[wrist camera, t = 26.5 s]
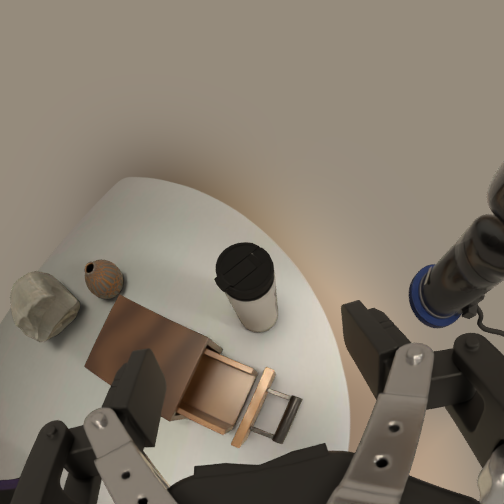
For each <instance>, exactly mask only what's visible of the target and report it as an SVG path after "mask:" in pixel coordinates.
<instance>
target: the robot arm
mask: <svg viewBox="0 0 504 504" xmlns="http://www.w3.org/2000/svg"><path fill="white" fill-rule="evenodd" d="M487 203H488V205H489V207H490V209H491V211H492V212H493V213H494V215H489V214H486V215H482V216H480V217H478V218H477V219H476V220H475V221H474V222H473V223H472V224H471V225H470V227H469V228H468V229H467V230H466V231H465V232H464V233H463V235H462V236H461V237H460V238H459V239H458V240H457V242H456V243H455V244H454V245H453V246H452V247H451V248H450V250H449V251H448V252H447V253H446V254H445V255H444V256H443V257H442V258H441V259H440V261H438V263H437V264H436V265H435V266H434V267H433V268H432V266H431V267H430V268H429V271H428V272H427V273H426V274H425V275H424V276H423V278H422V279H421V281H420V284H419V289H418V294H419V299H420V302H421V305H422V306H423V308H424V309H425V311H426V312H427V313H428V314H430V315H431V316H433V317H435V318H438V319H446V318H449V317H451V316H452V315H454V316H458V315H459V314H461V313H462V317H465V318H468V319H470V318H472V317H474V316H476V313H478V315H479V319H478V322H477V325H478V326H479V328H480V329H482V330H483V331H485V332H488V333H492V334H497V335H501V336H504V331H502V330H498V329H492V328H488V327H486V326H484V325H483V324H482V320H483V312H482V310H481V309H480V308H479V306H478V303H479V302H480V301H482V300H483V299H484V294H485V293H487V292H488V291H490V290H491V289H492V288H494V287H495V286H496V285H498V284H499V283H501V282H502V281H503V280H504V161H503V163H502V164H501V166H500V167H499V168H498V170H497V172H496V173H495V175H494V177H493V179H492V181H491V183H490V185H489V188H488V192H487ZM431 268H432V269H431ZM341 313H342V324H343V334H344V335H343V336H344V341H345V345H346V347H347V350H348V351H349V353H350V355H351V357H352V358H353V360H354V362H355V364H356V365H357V367H358V369H359V370H360V372H361V374H362V375H363V377H364V379H365V381H366V382H367V384H368V386H369V387H370V389H371V391H372V393H373V395H374V396H375V398H376V400H377V401H376V403H375V406H374V409H373V411H372V414H371V416H370V419H369V421H368V424H367V426H366V429H365V431H364V434H363V436H362V438H361V441H360V443H359V446H358V448H357V450H356V452H355V453H352V452H347V451H328V450H327V447H326V444H325V443H323V444H319V445H316V446H312V447H308V448H304V449H300V450H296V451H292V452H290V453H287V454H285V455H283V456H281V457H278V458H276V459H273V460H271V461H268V462H266V463H263V464H260V465H247V464H231V463H222V464H213V465H203V466H194V475H192V476H189V477H187V478H184V479H182V480H180V481H178V482H177V483H175V484H173V485H172V486H170V485H169V484H168V483H167V481H166V480H165V479H164V478H163V476H162V475H161V474H160V473H159V471H158V470H157V469H156V467H155V466H154V465H153V463H152V462H151V461H150V459H149V458H148V456H147V455H146V454H145V453H144V451H143V449H144V447H155V443H156V437H157V432H158V427H159V422H160V417H161V413H162V408H163V403H164V398H165V394H166V388H167V386H166V380H165V377H164V374H163V372H162V370H161V368H160V366H159V364H158V362H157V360H156V358H155V356H154V353H153V352H152V350H151V349H149V348H148V349H141V350H135V351H133V352H132V353H131V355H130V358H129V360H128V362H127V363H124V364H123V366H122V367H121V368H120V369H119V370H118V371H117V373H116V375H115V377H114V381H113V382H112V384H111V388H110V389H109V391H108V393H107V396H106V398H105V400H104V403H103V405H102V408H99V409H96V410H94V411H92V412H91V413H90V414H89V415H88V416H87V417H86V418H85V420H84V424H83V425H82V426H78V427H74V428H70V429H68V428H67V426H66V425H65V424H64V423H63V422H62V421H58V420H56V421H52V422H49V423H47V424H46V425H45V426H44V427H43V428H42V429H41V430H40V432H39V434H38V436H37V439H36V441H35V443H34V445H33V448H32V450H31V452H30V454H29V457H28V459H27V461H26V464H25V466H24V469H23V471H22V474H21V476H20V479H19V481H18V484H17V487H16V489H15V492H14V495H13V498H12V500H11V503H10V504H97V500H98V495H99V490H100V485H101V480H103V482H104V484H105V486H106V488H107V490H108V492H109V494H110V496H111V497H112V499H113V501H114V503H115V504H504V355H503V354H502V353H501V352H500V351H498V349H497V348H495V347H494V346H493V345H492V344H491V343H490V342H489V341H488V340H487V339H486V338H485V337H483V336H482V335H480V334H476V333H466V334H463V335H460V336H459V337H458V338H457V339H456V340H455V342H454V346H453V349H447V350H442V351H434V352H433V351H432V349H431V348H430V347H428V346H427V345H424V344H421V343H411V342H410V341H409V340H408V339H407V338H406V336H405V335H404V334H403V333H402V332H401V331H400V330H399V329H398V328H397V327H396V326H395V325H394V323H393V322H392V321H391V320H390V319H389V318H388V317H387V316H386V315H385V313H383V312H382V311H379V310H377V309H375V308H371V309H367V308H366V307H365V306H364V305H363V304H362V303H361V302H360V300H357V301H354V302H351V303H347V304H343V305H342V306H341ZM444 406H445V408H446V410H447V411H448V413H449V414H450V416H451V417H452V419H453V420H454V422H455V423H456V425H457V426H458V428H459V430H460V432H461V433H462V435H463V436H464V438H465V440H466V441H467V443H468V445H469V446H470V448H471V449H472V451H473V453H474V455H475V456H476V458H477V460H478V461H479V463H480V465H481V466H482V470H481V472H480V474H479V476H478V480H477V484H478V488H479V492H480V498H479V501H477V500H476V499H474V498H472V497H469V496H466V495H462V494H459V493H456V492H453V491H450V490H447V489H444V488H441V487H439V486H436V485H433V484H430V483H428V482H425V481H422V480H420V479H417V478H415V477H412V476H410V475H409V473H410V470H411V466H412V463H413V460H414V456H415V453H416V449H417V445H418V442H419V438H420V434H421V430H422V425H423V421H424V416H425V412H426V410H427V409H433V408H439V407H444ZM63 468H65V469H66V470H67V471H68V472H69V473H68V477H67V480H66V483H65V487H64V490H62V488H61V486H60V478H61V474H62V471H63Z"/></svg>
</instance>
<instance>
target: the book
mask: <svg viewBox="0 0 504 504" xmlns="http://www.w3.org/2000/svg"><path fill="white" fill-rule="evenodd" d="M19 479H20V478H17V479H11V480H0V504H10V503H11V500H12V498H13V495H14V492H15V489H16V487H17V484H18V481H19Z"/></svg>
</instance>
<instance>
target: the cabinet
mask: <svg viewBox="0 0 504 504" xmlns="http://www.w3.org/2000/svg"><path fill="white" fill-rule="evenodd" d="M148 348H149V349H151V350H152V352H153V353H154V356H155V358H156V360H157V362H158V364H159V366H160V368H161V370H162V372H163V374H164V377H165V380H166V386H167V388H166V394H165V398H164V403H163V408H162V413H161V417H163V418H165V419H166V420H168V421H174V420H180V419H186V418H187V417H185V416H183V415H181V414H179V413H177V412H176V411H177V409H178V407H179V405H180V403H181V400H182V398H183V396H184V394H185V392H186V390H187V388H188V385H189V383H190V381H191V379H192V377H193V375H194V372H195V370H196V368H197V366H198V364H199V362H200V360H201V357H202V355H203V353H204V351H205V349H206V348H207V349H209V350H211V351H213V352H216V353H218V354H221V352H222V350H223V349H222V348H221V347H220V346H218V345H217V344H216V343H215V342H213V341H212V340H211V339H210V338H208V337H206V336H204V335H202V334H199V333H197V332H195V331H193V330H190V329H188V328H186V327H184V326H182V325H180V324H178V323H175V322H173V321H171V320H169V319H167V318H165V317H163V316H161V315H159V314H157V313H155V312H153V311H151V310H149V309H147V308H145V307H143V306H141V305H139V304H137V303H135V302H133V301H131V300H129V299H127V298H125V297H124V296H122V295H119V296H118V298H117V300H116V302H115V304H114V306H113V307H112V309H111V311H110V313H109V315H108V317H107V319H106V321H105V323H104V325H103V327H102V329H101V332H100V334H99V336H98V338H97V340H96V342H95V344H94V346H93V348H92V351H91V353H90V355H89V357H88V359H87V361H86V364H85V366H84V367H86V368H87V369H88V370H90V371H91V372H92V373H94V374H95V375H97V376H98V377H99V378H101V379H102V380H104V381H105V382H107V383H108V384H109V385H111V384H112V382H113V381H114V377H115V375H116V373H117V371H118V370H119V369H120V368H121V367H122V366H123V364H124V363H127V362H128V360H129V358H130V355H131V353H132V352H133V351H135V350H141V349H148Z"/></svg>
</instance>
